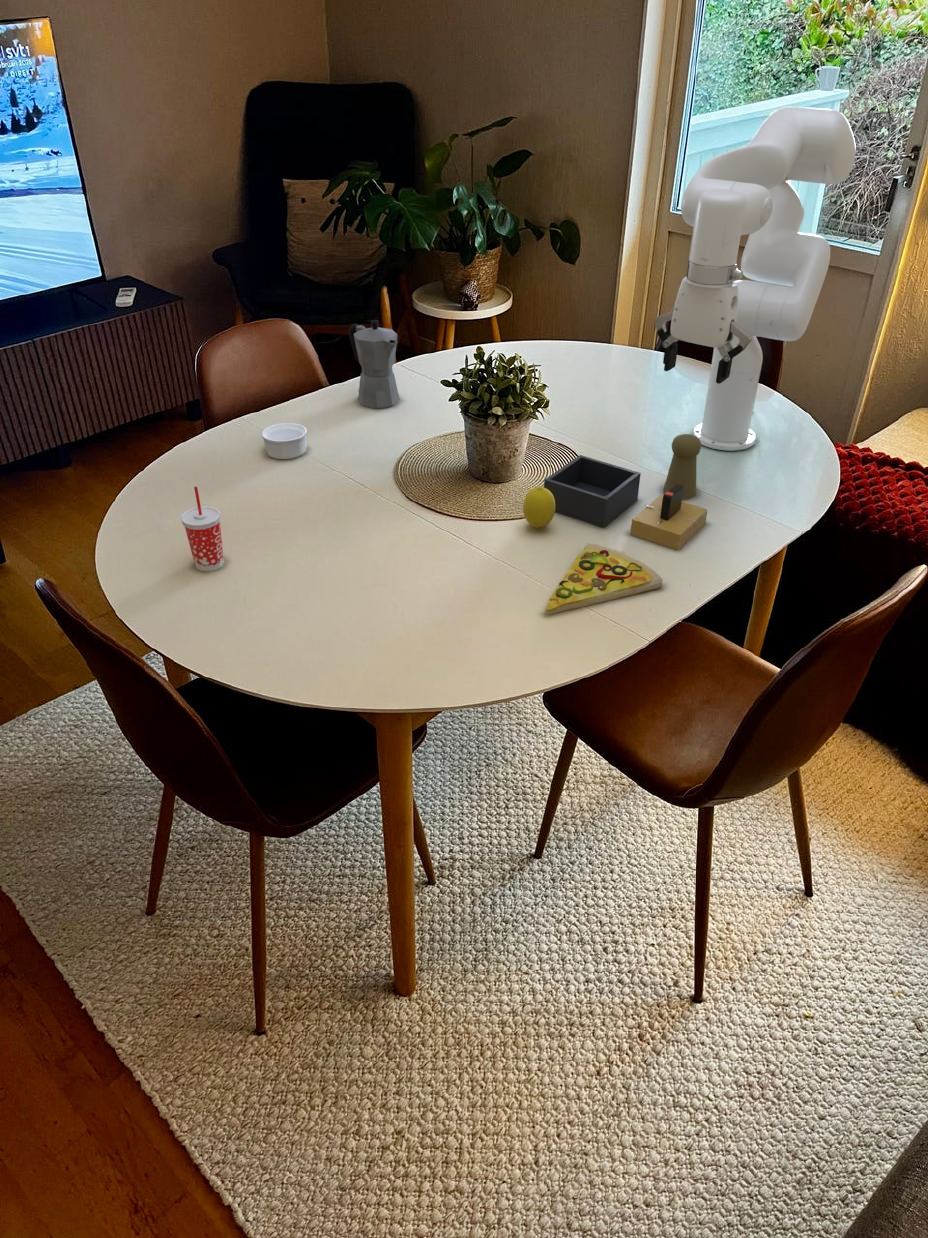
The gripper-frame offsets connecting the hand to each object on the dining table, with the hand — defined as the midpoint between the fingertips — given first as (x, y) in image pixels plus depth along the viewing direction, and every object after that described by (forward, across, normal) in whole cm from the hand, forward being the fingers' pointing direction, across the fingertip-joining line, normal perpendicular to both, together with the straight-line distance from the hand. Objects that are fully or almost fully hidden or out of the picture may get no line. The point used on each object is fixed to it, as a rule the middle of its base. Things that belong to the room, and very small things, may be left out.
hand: (694, 374), depth 165 cm
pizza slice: (+23, -4, +38) cm, 45 cm away
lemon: (+23, +14, +27) cm, 38 cm away
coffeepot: (+22, +74, 0) cm, 77 cm away
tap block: (+23, -5, +14) cm, 27 cm away
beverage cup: (+24, +50, +69) cm, 89 cm away
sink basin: (+23, +10, +14) cm, 28 cm away
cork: (+23, 0, 0) cm, 23 cm away
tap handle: (+20, -5, +14) cm, 24 cm away
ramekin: (+23, +70, +31) cm, 80 cm away
